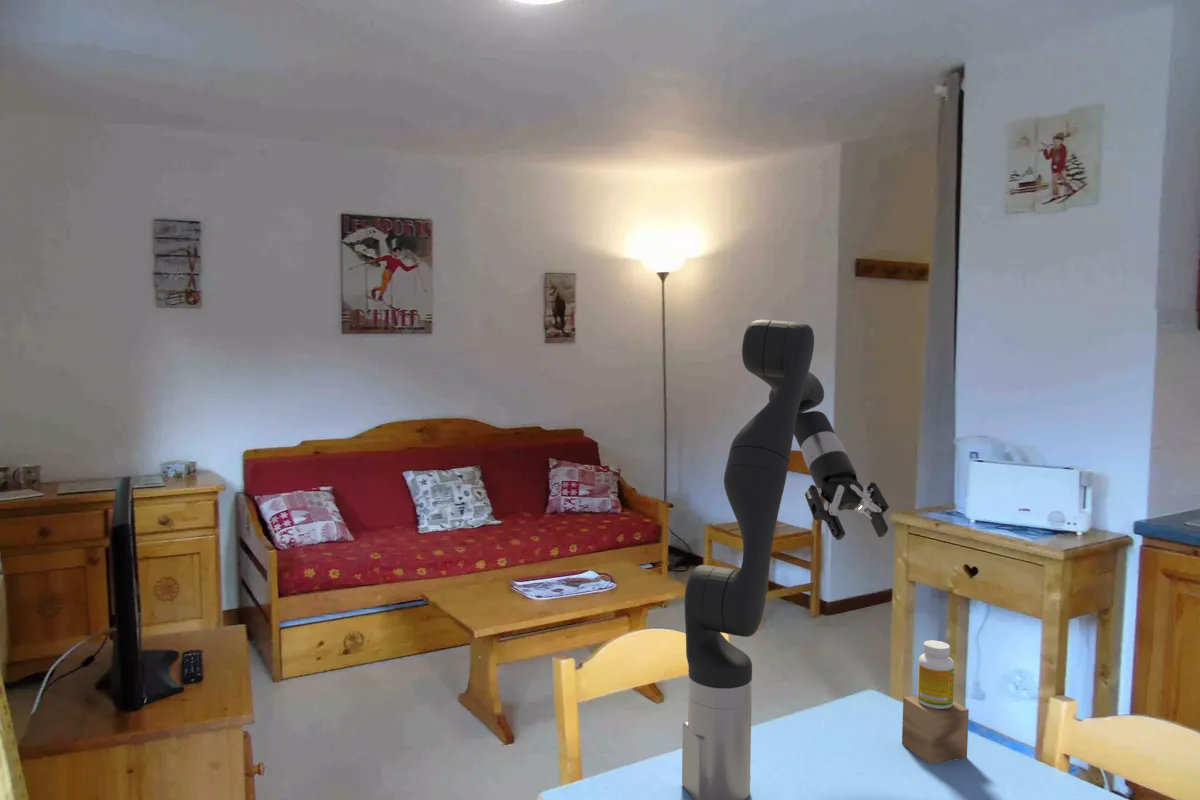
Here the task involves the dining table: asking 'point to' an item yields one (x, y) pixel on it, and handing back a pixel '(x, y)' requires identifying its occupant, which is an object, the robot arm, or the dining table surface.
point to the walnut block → (935, 731)
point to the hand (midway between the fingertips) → (862, 536)
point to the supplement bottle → (935, 676)
